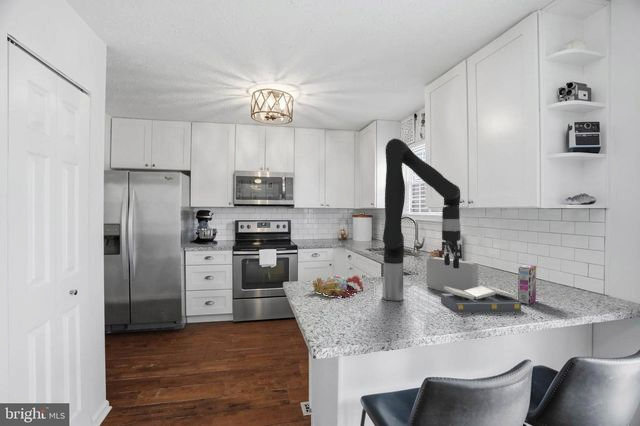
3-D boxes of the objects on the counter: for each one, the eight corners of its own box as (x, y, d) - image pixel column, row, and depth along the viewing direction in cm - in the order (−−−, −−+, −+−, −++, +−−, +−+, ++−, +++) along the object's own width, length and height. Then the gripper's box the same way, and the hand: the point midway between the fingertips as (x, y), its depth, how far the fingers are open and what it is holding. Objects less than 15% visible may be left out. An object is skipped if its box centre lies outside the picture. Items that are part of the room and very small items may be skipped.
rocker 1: (454, 294, 134) (455, 291, 134) (443, 288, 144) (444, 286, 144) (473, 299, 134) (474, 296, 134) (461, 293, 145) (462, 290, 145)
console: (455, 311, 132) (455, 299, 132) (440, 302, 146) (440, 291, 146) (521, 311, 133) (521, 298, 133) (500, 301, 147) (500, 290, 147)
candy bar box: (530, 305, 141) (530, 268, 141) (517, 303, 145) (517, 267, 145) (536, 300, 149) (536, 265, 149) (524, 298, 152) (524, 264, 152)
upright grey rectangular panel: (480, 296, 156) (480, 262, 156) (472, 298, 153) (472, 263, 153) (434, 286, 179) (434, 256, 179) (426, 287, 175) (426, 257, 175)
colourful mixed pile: (346, 302, 148) (346, 282, 148) (304, 295, 161) (304, 277, 161) (368, 291, 170) (367, 273, 170) (329, 286, 182) (329, 269, 182)
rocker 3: (498, 293, 135) (499, 291, 135) (484, 288, 145) (485, 285, 145) (517, 298, 135) (517, 296, 135) (501, 292, 145) (502, 290, 145)
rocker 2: (476, 299, 134) (476, 296, 134) (464, 293, 145) (463, 290, 145) (495, 294, 134) (494, 291, 134) (481, 288, 145) (481, 285, 145)
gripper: (435, 228, 146) (436, 264, 146) (449, 230, 132) (450, 269, 132) (452, 228, 147) (452, 264, 146) (467, 230, 132) (468, 269, 132)
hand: (451, 266), depth 139 cm, fingers open, 8 cm apart
